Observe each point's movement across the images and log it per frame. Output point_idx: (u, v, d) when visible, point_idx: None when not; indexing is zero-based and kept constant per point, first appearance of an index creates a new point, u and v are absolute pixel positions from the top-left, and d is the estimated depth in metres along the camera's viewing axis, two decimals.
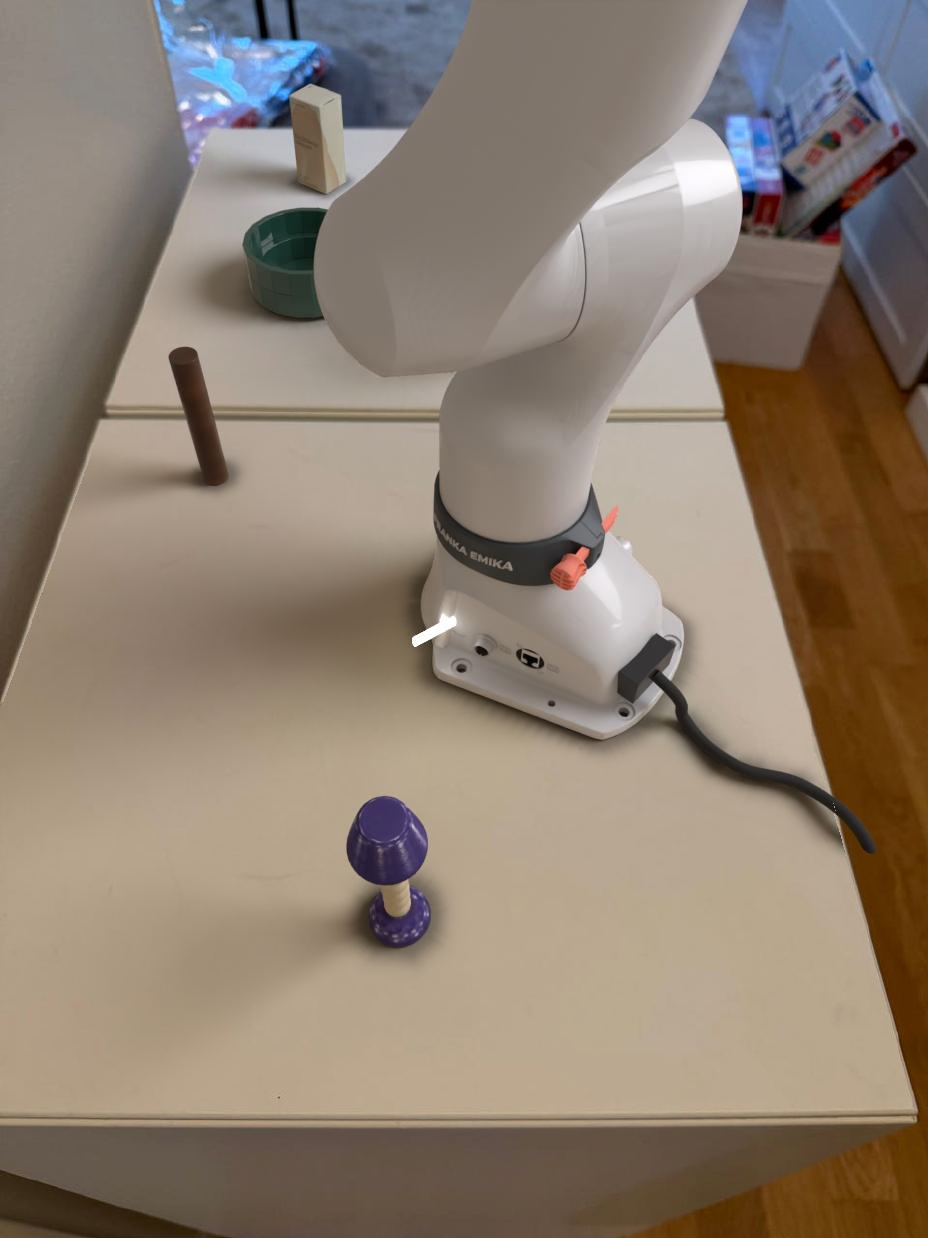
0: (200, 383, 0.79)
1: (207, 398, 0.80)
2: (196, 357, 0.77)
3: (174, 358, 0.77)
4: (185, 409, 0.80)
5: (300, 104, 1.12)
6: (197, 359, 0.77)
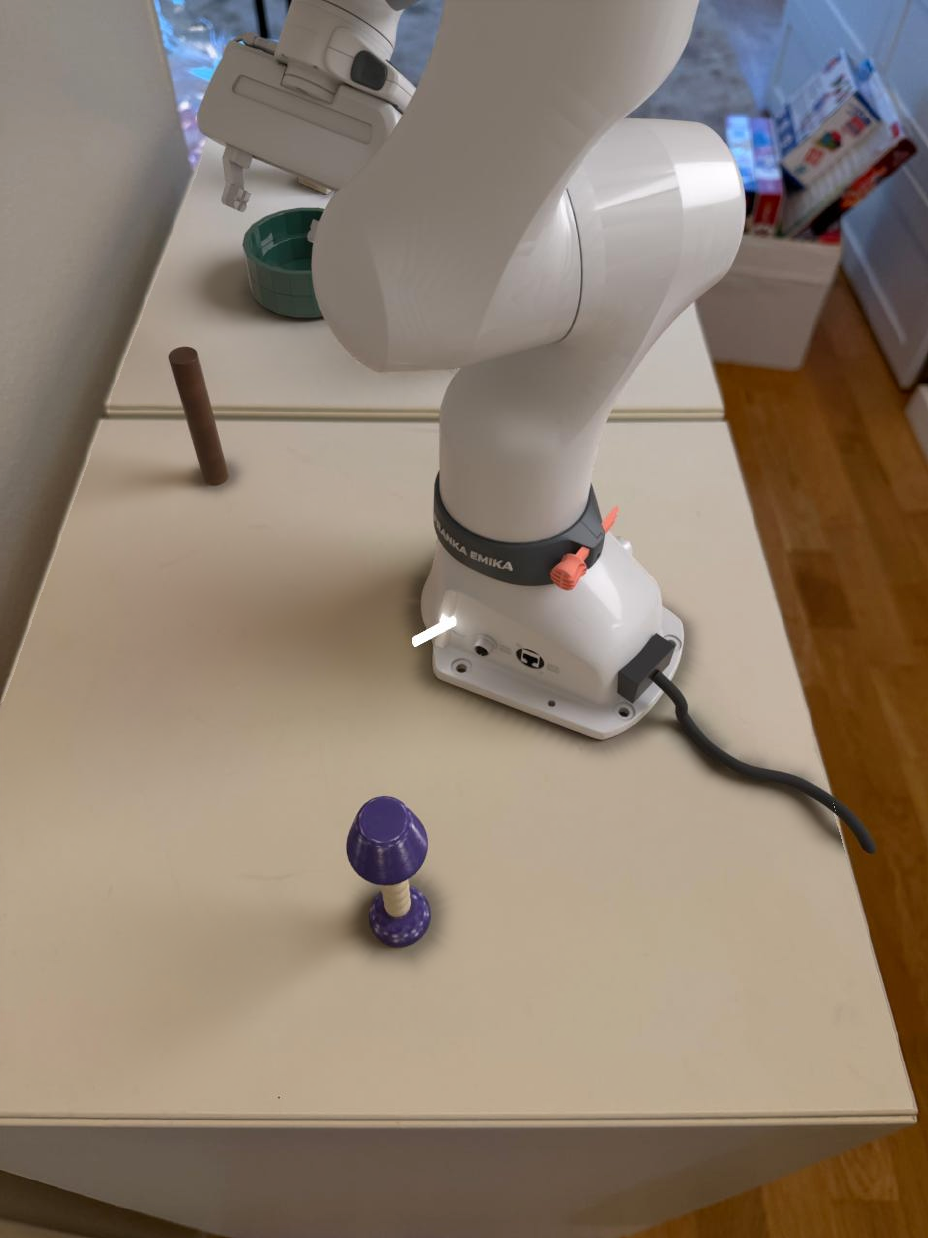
0: (200, 383, 0.79)
1: (207, 398, 0.80)
2: (196, 357, 0.77)
3: (174, 358, 0.77)
4: (185, 409, 0.80)
5: None
6: (197, 359, 0.77)
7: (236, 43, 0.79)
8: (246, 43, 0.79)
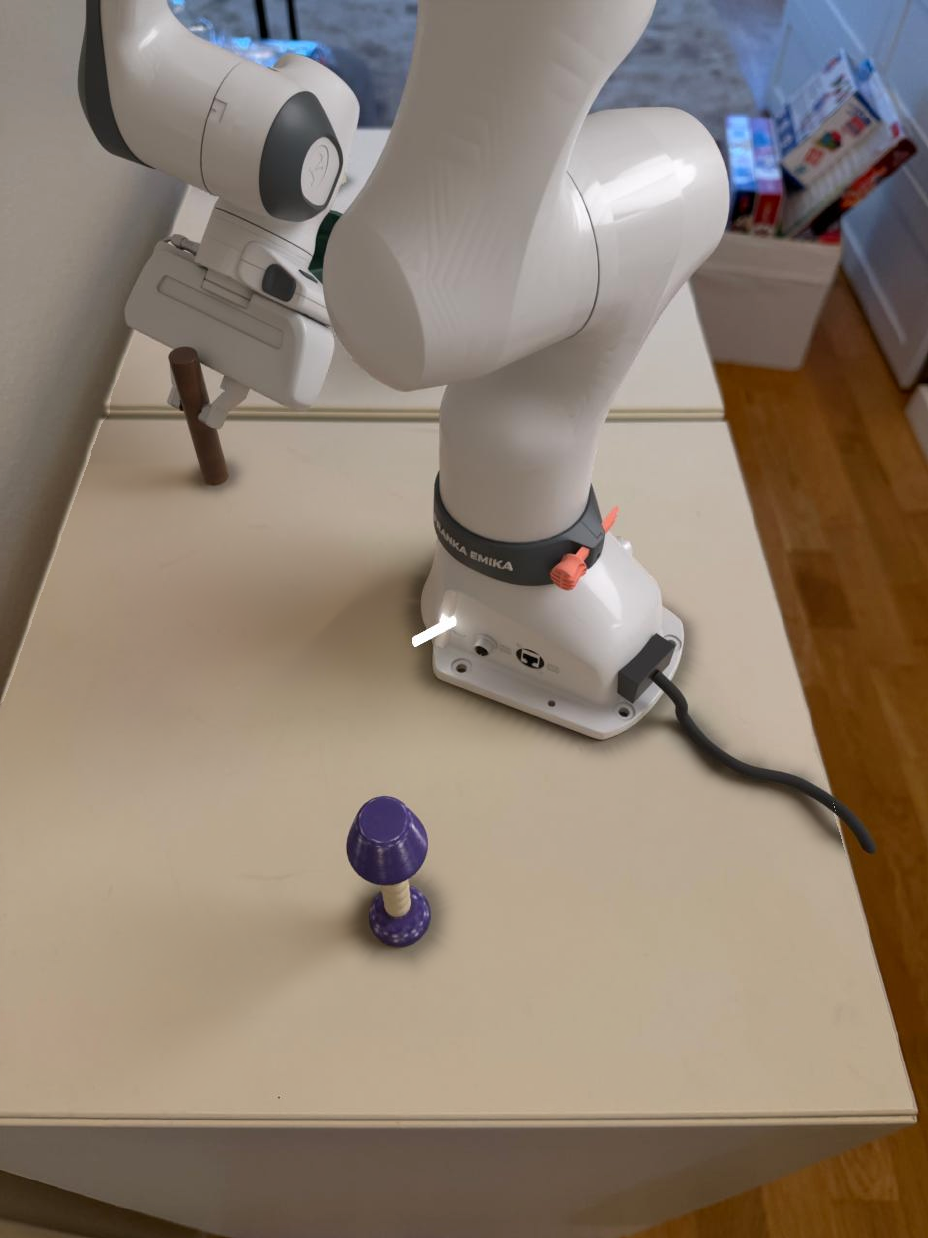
0: (200, 383, 0.79)
1: (207, 398, 0.80)
2: (196, 357, 0.77)
3: (174, 358, 0.77)
4: (185, 409, 0.80)
5: None
6: (197, 359, 0.77)
7: (165, 244, 0.82)
8: (174, 244, 0.81)
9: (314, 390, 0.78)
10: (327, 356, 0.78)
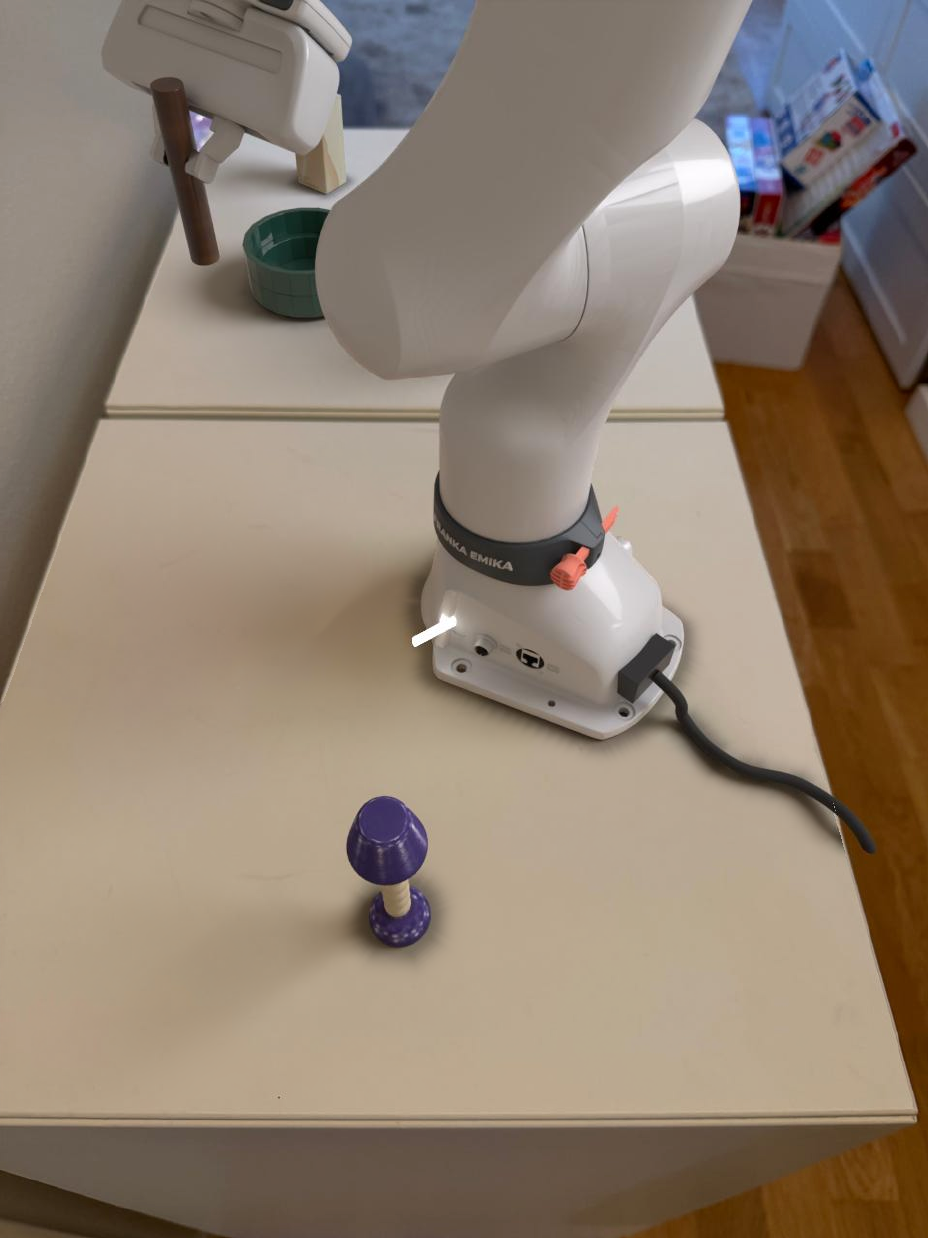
0: (186, 122, 0.69)
1: (194, 145, 0.71)
2: (181, 86, 0.67)
3: (156, 86, 0.67)
4: (170, 158, 0.71)
5: None
6: (183, 89, 0.68)
7: None
8: None
9: (316, 127, 0.68)
10: (331, 88, 0.68)
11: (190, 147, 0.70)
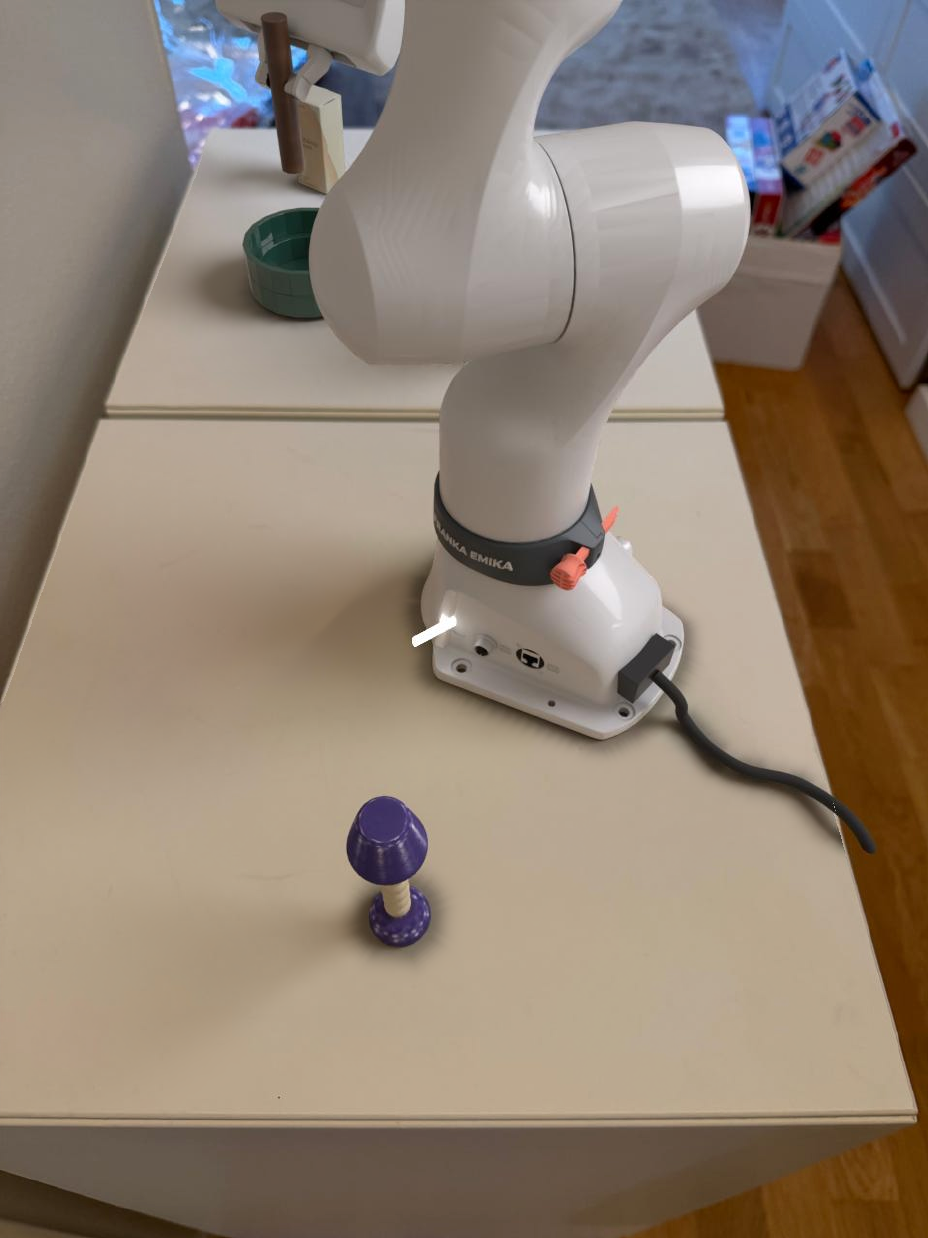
0: (287, 49, 0.86)
1: (292, 69, 0.88)
2: (286, 18, 0.84)
3: (266, 18, 0.84)
4: (272, 79, 0.88)
5: (300, 104, 1.12)
6: (286, 21, 0.85)
7: None
8: None
9: (393, 52, 0.85)
10: None
11: (289, 70, 0.87)
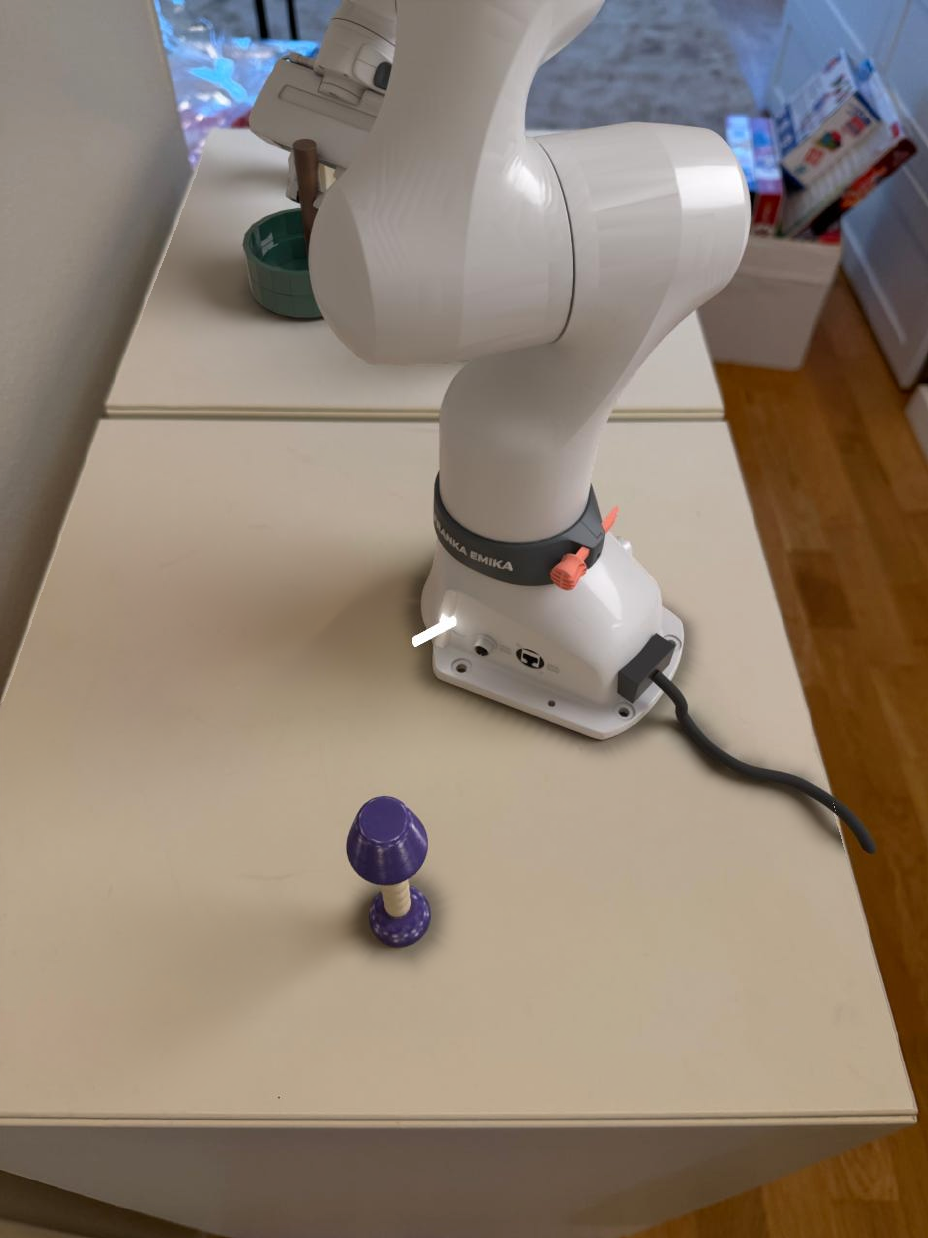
0: (316, 171, 0.94)
1: (320, 188, 0.96)
2: (315, 146, 0.92)
3: (297, 146, 0.92)
4: (302, 197, 0.96)
5: None
6: (316, 148, 0.93)
7: (283, 61, 0.97)
8: (291, 60, 0.97)
9: None
10: None
11: (317, 189, 0.95)
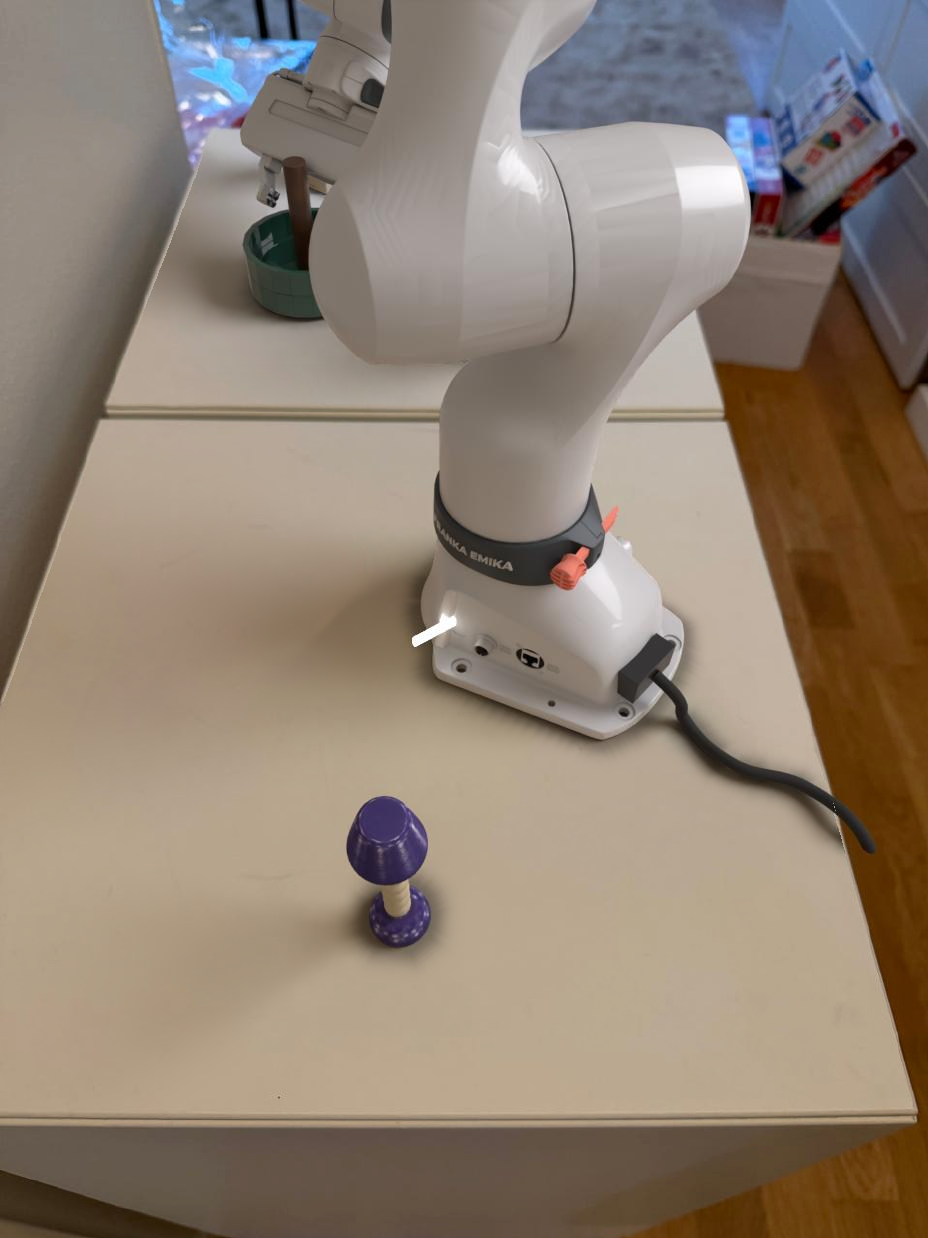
0: (306, 187, 0.97)
1: (309, 203, 0.99)
2: (304, 163, 0.95)
3: (287, 163, 0.95)
4: (292, 212, 0.99)
5: None
6: (305, 165, 0.96)
7: (274, 76, 1.00)
8: (281, 76, 1.00)
9: None
10: None
11: (307, 204, 0.98)
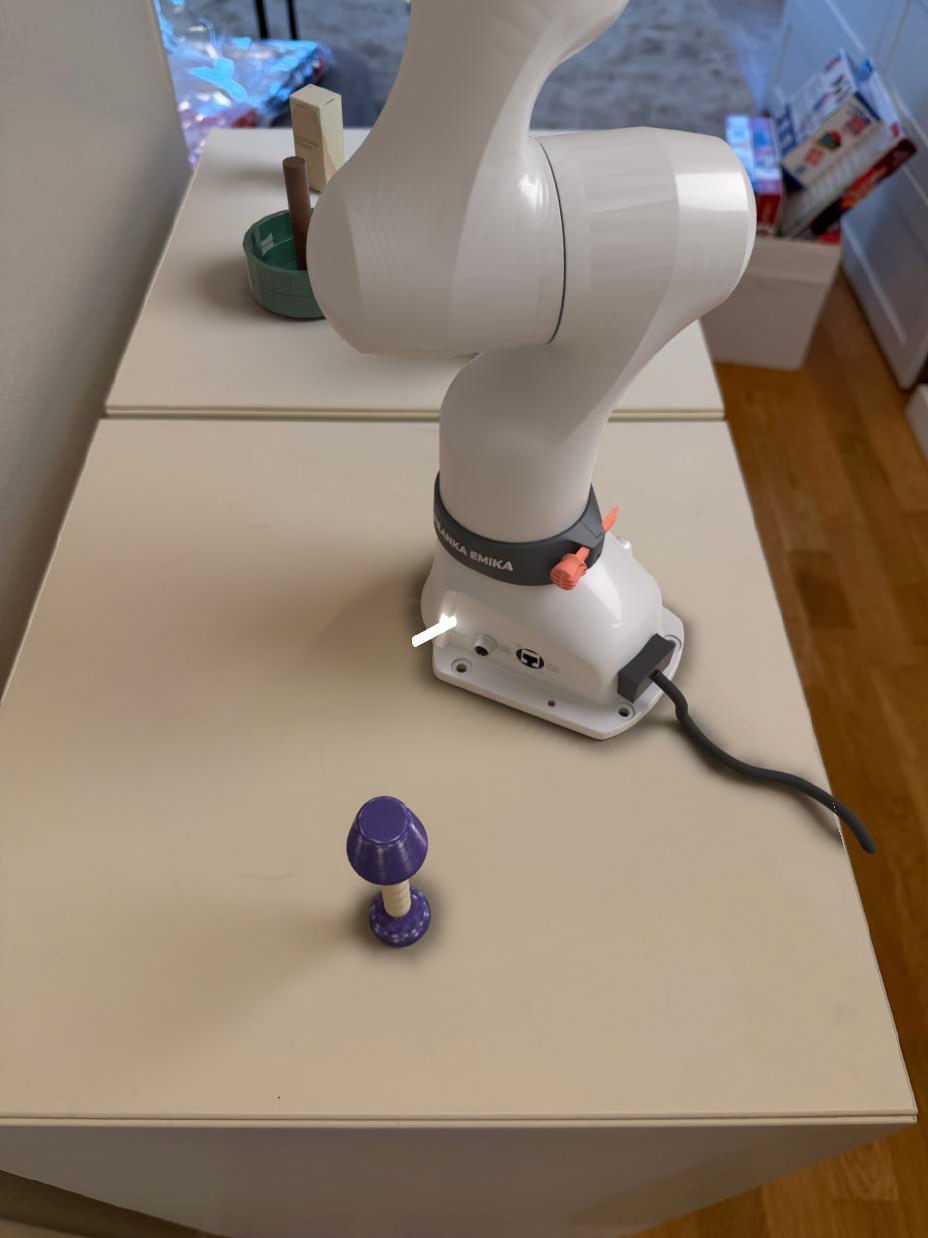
0: (306, 187, 0.97)
1: (309, 203, 0.99)
2: (304, 163, 0.95)
3: (287, 163, 0.95)
4: (292, 212, 0.99)
5: (300, 104, 1.12)
6: (305, 165, 0.96)
7: None
8: None
9: None
10: None
11: (307, 204, 0.98)
